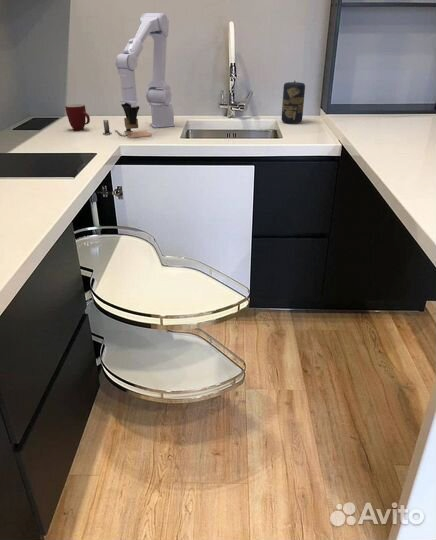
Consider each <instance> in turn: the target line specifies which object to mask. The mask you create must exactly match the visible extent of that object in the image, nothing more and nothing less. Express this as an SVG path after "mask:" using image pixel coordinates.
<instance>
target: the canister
mask: <svg viewBox="0 0 436 540" xmlns="http://www.w3.org/2000/svg"><path fill="white" fill-rule="evenodd" d="M282 92H283V93H282V103H281V104H282V107H281V121H282V122H283V123H285V124H298V123H299V124H300V123H302V121H303V115H304V104H305V103H304V102H305V92H306V84H305V83H303V82H300V81H298V82H297V81H296V80H294V81H293V82H292V81H291V82H290V81H289V82H285V83H284V84H283V91H282Z"/></svg>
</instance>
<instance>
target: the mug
mask: <svg viewBox="0 0 436 540" xmlns="http://www.w3.org/2000/svg"><path fill="white" fill-rule="evenodd" d="M64 107H65V112H66V116H67V119H68V122H69V126H70V127H71V128H72V129H73V130H74V132H75V131H76V132H77V131H79V132H80V131H84V128H85V126H86V125H88V124H90V122H91V118H90V114H88V113H87V112H86V111H87V110H86V105H85V104H83V103H71V104H66V105H65V106H64Z"/></svg>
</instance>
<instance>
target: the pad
mask: <svg viewBox="0 0 436 540" xmlns="http://www.w3.org/2000/svg"><path fill="white" fill-rule="evenodd" d="M124 135H128V136H127V137H128V138H129V139H137V138H146V137H147V138H148V137H152V134H151V133H149V132H148V131H147V130H138V131H136V130H135V131H133V132H125V133H124Z"/></svg>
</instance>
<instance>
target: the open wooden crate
mask: <svg viewBox="0 0 436 540" xmlns="http://www.w3.org/2000/svg"><path fill="white" fill-rule="evenodd" d="M123 119H124V120H123V121H124V127H125V129H126V128H127V129H131V130H132V129H139V121H138V120H139V119H138V118H137V120H136V124H134V125H131V124H130V121H129V118H126V117H124V118H123Z"/></svg>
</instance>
